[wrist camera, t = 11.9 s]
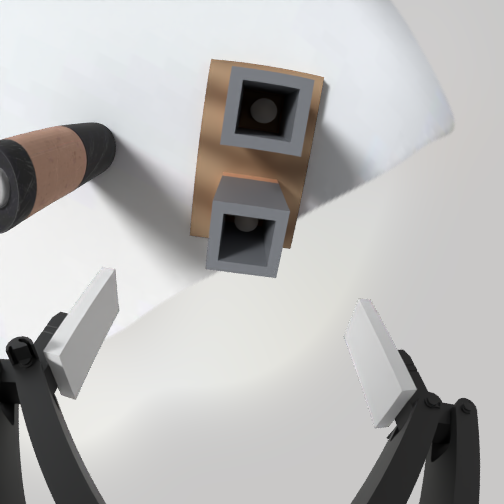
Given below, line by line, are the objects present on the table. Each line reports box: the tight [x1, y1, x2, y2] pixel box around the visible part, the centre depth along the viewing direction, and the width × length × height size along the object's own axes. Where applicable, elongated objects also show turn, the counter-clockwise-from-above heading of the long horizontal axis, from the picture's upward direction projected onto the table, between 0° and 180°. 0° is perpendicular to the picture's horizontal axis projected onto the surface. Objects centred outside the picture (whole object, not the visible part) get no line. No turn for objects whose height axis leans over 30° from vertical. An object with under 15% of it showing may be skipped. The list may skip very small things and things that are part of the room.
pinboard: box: [190, 59, 324, 249], centre depth 33 cm, size 22×13×8 cm, turn 171°
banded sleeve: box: [206, 172, 290, 278], centre depth 32 cm, size 6×6×12 cm
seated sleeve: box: [220, 66, 315, 157], centre depth 28 cm, size 6×6×12 cm
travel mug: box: [0, 123, 116, 233], centre depth 26 cm, size 8×8×20 cm
